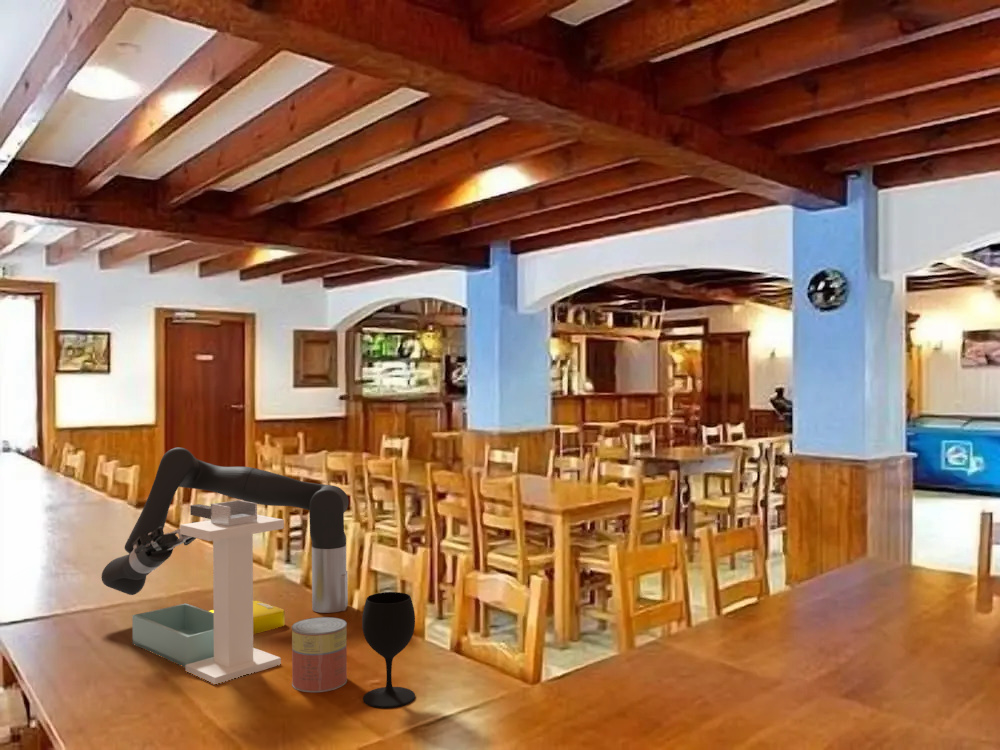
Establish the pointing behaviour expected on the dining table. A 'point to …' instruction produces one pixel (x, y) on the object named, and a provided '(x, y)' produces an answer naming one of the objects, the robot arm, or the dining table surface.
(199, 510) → the brushed metal dustpan
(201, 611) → the bin
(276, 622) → the element tile
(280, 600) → the dining table surface
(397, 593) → the wine glass
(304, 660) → the canned food
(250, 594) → the white i-beam pedestal
